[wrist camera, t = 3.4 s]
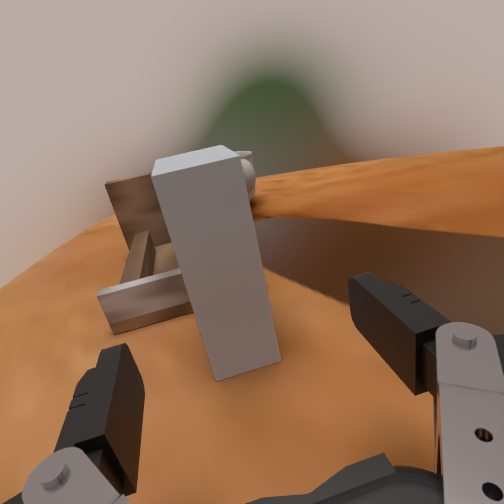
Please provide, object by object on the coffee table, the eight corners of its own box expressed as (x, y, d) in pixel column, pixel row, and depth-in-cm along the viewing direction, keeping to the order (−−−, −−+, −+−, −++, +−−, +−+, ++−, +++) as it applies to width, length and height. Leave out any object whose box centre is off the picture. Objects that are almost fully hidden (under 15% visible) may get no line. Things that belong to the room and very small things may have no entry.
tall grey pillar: (258, 308, 25) (221, 144, 21) (281, 361, 20) (240, 155, 15) (205, 323, 25) (156, 159, 20) (215, 381, 20) (150, 176, 15)
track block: (231, 230, 42) (214, 157, 38) (264, 291, 27) (241, 182, 24) (134, 256, 40) (106, 182, 37) (114, 334, 26) (65, 225, 22)
